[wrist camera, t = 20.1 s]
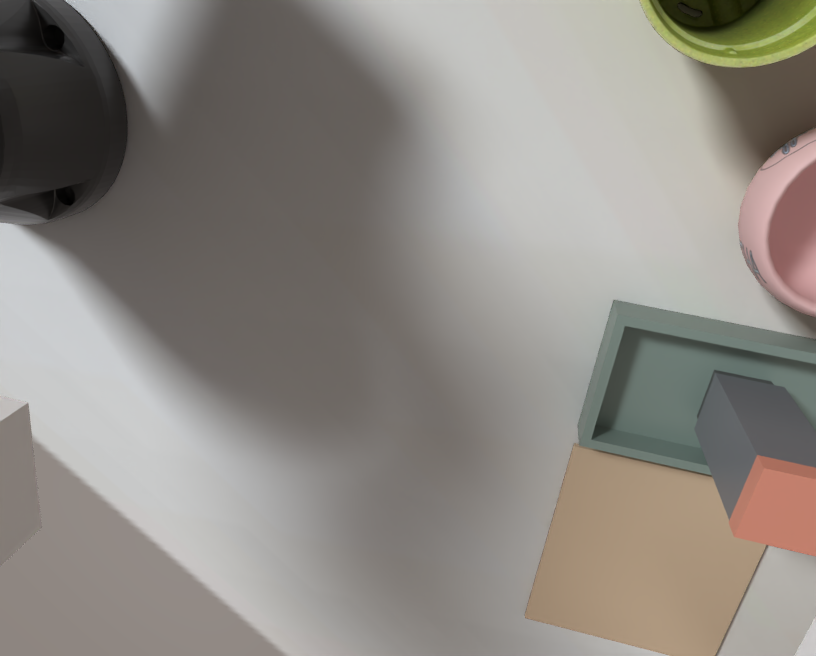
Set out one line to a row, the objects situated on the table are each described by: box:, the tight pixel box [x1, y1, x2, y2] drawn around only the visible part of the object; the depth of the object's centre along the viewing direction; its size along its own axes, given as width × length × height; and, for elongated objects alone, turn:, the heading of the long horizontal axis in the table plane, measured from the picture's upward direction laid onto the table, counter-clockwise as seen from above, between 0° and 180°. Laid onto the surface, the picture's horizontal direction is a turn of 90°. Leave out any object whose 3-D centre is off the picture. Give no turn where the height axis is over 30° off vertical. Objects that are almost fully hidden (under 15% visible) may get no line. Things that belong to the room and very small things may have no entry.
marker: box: [694, 370, 816, 556], centre depth 36 cm, size 4×4×11 cm
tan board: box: [525, 443, 766, 656], centre depth 47 cm, size 14×16×1 cm
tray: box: [578, 300, 816, 475], centre depth 41 cm, size 17×9×2 cm, turn 82°
